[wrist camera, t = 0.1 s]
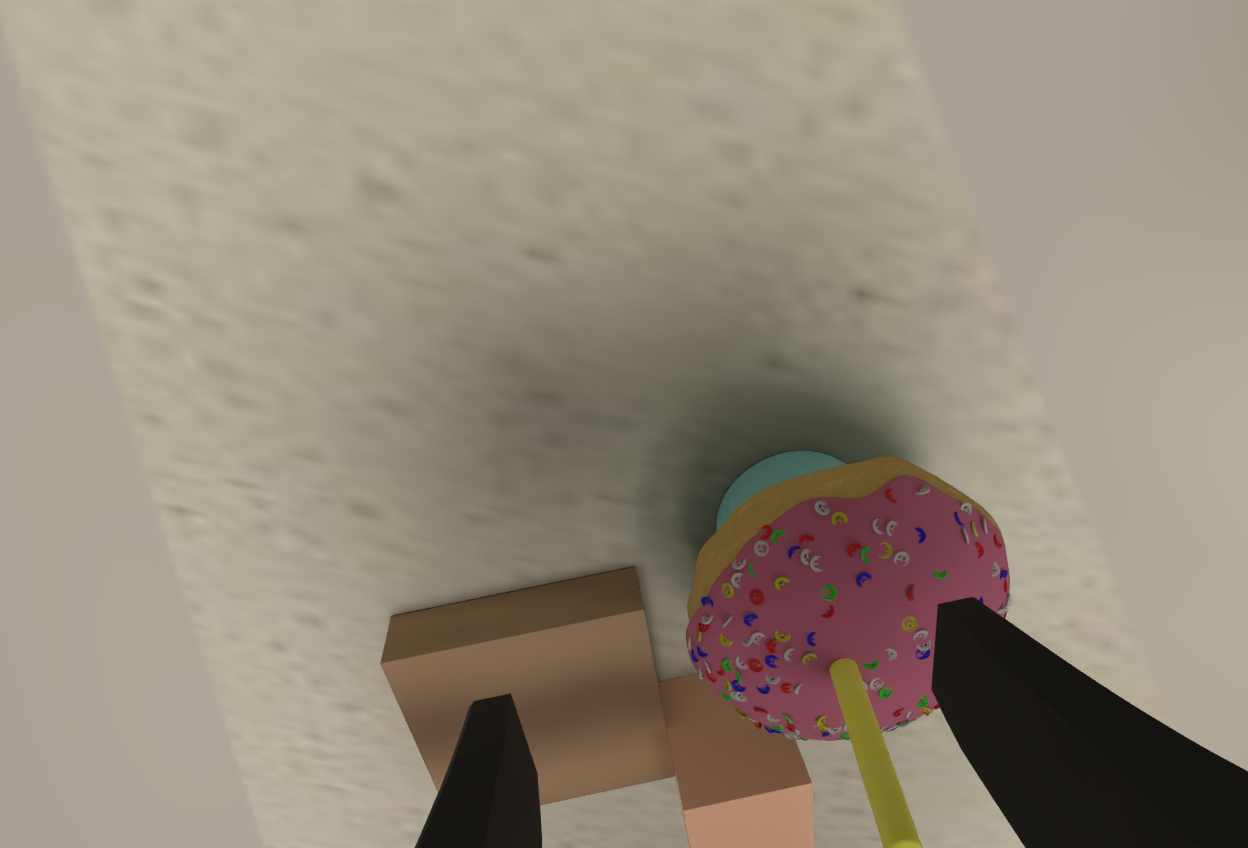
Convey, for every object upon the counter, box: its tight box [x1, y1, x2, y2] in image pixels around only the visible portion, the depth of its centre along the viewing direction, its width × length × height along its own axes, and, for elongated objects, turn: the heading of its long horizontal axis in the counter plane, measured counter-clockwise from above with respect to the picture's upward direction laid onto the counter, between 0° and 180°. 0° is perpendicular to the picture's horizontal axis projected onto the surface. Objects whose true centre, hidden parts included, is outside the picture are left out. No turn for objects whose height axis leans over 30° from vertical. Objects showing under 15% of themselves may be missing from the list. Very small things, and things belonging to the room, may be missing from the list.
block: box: [658, 674, 815, 848], centre depth 25 cm, size 4×4×5 cm
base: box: [380, 567, 675, 805], centre depth 24 cm, size 8×8×2 cm
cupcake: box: [686, 451, 1011, 848], centre depth 18 cm, size 9×8×12 cm
